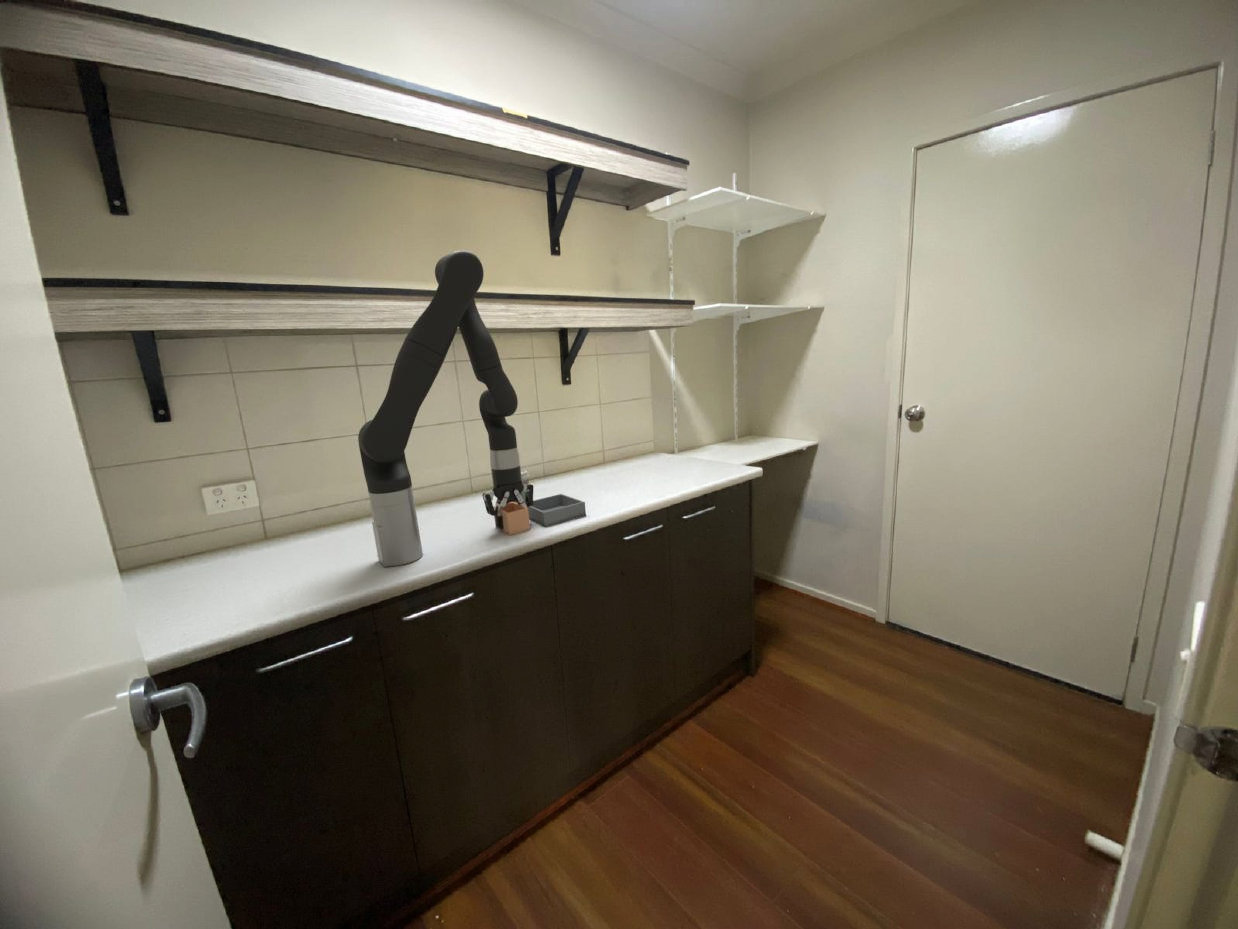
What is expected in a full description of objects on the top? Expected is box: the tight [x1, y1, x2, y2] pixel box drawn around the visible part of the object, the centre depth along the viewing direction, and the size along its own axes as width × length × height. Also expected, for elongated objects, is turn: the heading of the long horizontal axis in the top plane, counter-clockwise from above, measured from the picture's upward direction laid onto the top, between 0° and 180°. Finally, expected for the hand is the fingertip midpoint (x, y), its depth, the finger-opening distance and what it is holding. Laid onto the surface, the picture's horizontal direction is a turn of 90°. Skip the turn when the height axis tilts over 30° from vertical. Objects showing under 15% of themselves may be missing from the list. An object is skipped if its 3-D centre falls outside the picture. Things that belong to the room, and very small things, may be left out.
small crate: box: [493, 502, 531, 536], centre depth 132 cm, size 6×9×6 cm, turn 37°
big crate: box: [528, 493, 587, 528], centre depth 141 cm, size 13×13×4 cm
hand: (512, 525), depth 132 cm, fingers closed on small crate, 6 cm apart
